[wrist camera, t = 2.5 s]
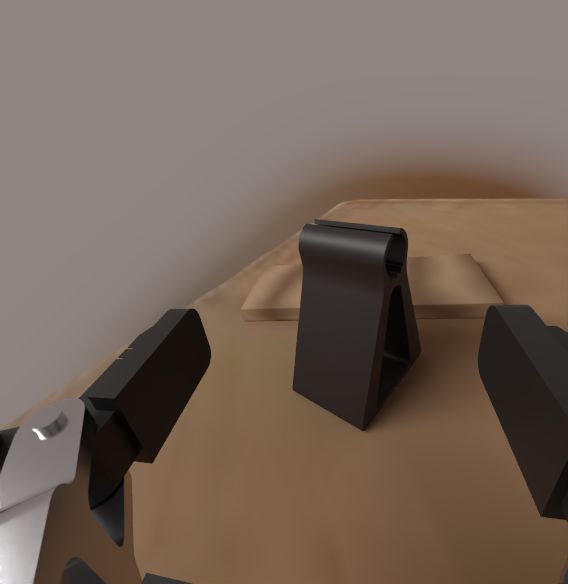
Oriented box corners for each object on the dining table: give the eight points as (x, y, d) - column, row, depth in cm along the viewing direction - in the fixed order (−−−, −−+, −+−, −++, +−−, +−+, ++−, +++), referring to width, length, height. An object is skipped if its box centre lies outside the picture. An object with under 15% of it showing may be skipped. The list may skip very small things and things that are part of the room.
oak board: (468, 266, 36) (470, 253, 35) (500, 317, 27) (504, 302, 27) (267, 276, 42) (265, 266, 41) (244, 320, 34) (240, 309, 33)
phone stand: (356, 329, 29) (348, 201, 23) (421, 353, 25) (430, 206, 20) (292, 392, 24) (261, 247, 18) (361, 433, 20) (350, 265, 14)
